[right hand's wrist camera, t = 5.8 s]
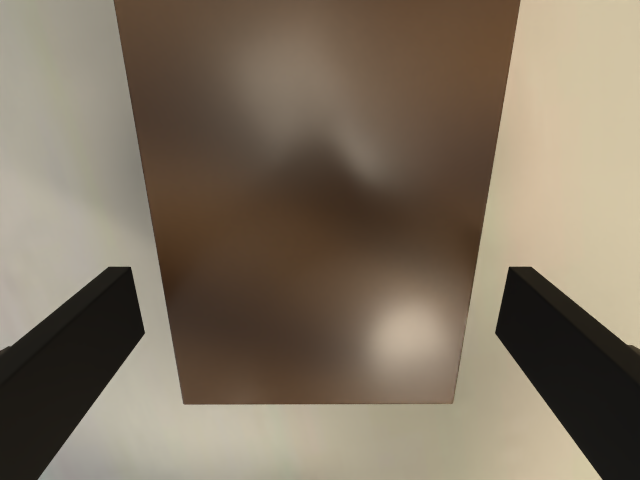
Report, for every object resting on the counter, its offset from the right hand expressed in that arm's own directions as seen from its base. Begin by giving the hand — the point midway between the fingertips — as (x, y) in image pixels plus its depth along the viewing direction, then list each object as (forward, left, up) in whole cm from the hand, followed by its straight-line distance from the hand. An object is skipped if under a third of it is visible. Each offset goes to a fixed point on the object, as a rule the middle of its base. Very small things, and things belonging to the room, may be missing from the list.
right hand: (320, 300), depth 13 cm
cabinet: (+3, -4, -11) cm, 12 cm away
